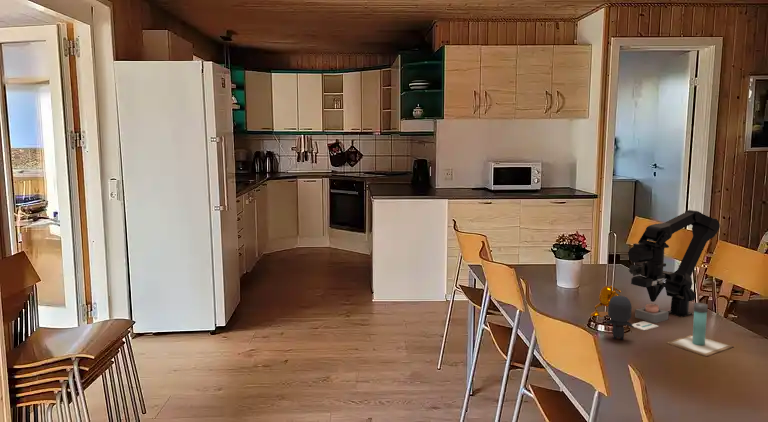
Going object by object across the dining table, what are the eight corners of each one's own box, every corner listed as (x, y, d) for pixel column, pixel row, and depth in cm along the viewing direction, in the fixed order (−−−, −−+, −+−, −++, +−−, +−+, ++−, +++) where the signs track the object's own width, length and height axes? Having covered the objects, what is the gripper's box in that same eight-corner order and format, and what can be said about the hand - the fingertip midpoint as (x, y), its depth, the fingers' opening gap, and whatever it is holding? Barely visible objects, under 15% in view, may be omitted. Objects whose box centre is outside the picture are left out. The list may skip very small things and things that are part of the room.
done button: (650, 311, 214) (650, 302, 213) (660, 315, 210) (661, 305, 210) (642, 313, 212) (643, 304, 211) (653, 317, 208) (653, 307, 207)
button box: (648, 313, 216) (649, 306, 216) (668, 319, 210) (668, 311, 209) (635, 317, 212) (635, 309, 212) (654, 323, 206) (654, 315, 205)
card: (643, 321, 207) (643, 320, 207) (658, 326, 202) (658, 325, 202) (629, 325, 203) (629, 324, 203) (644, 330, 198) (644, 329, 198)
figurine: (622, 321, 208) (623, 289, 206) (590, 319, 211) (592, 287, 209) (619, 314, 216) (621, 283, 214) (589, 312, 219) (590, 281, 217)
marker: (694, 340, 187) (696, 302, 185) (706, 343, 184) (709, 304, 183) (690, 343, 184) (692, 304, 183) (703, 346, 182) (705, 307, 180)
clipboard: (694, 335, 193) (694, 333, 193) (733, 347, 182) (733, 345, 182) (666, 343, 186) (666, 342, 186) (706, 356, 175) (706, 355, 175)
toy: (632, 337, 192) (634, 293, 190) (634, 345, 185) (636, 300, 183) (603, 334, 195) (605, 291, 193) (604, 342, 188) (606, 297, 186)
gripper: (651, 253, 220) (648, 292, 222) (619, 259, 210) (617, 299, 212) (678, 258, 210) (675, 299, 212) (646, 264, 201) (643, 307, 203)
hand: (652, 301), depth 210 cm, fingers closed
